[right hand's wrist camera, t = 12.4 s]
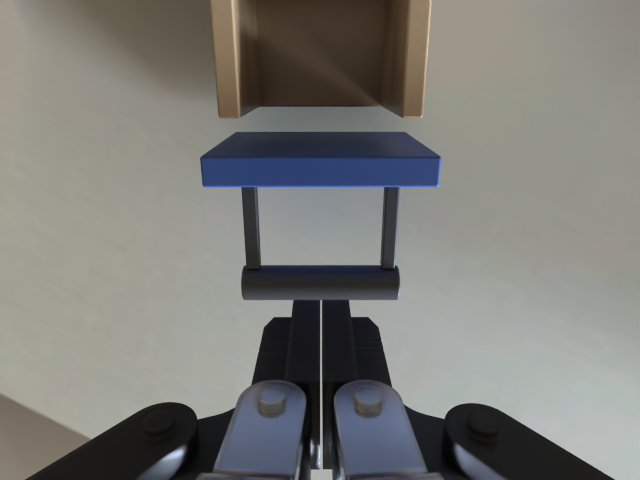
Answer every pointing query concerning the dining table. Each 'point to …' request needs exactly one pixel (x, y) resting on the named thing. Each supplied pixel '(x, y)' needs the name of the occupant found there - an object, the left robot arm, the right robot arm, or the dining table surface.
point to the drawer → (320, 147)
